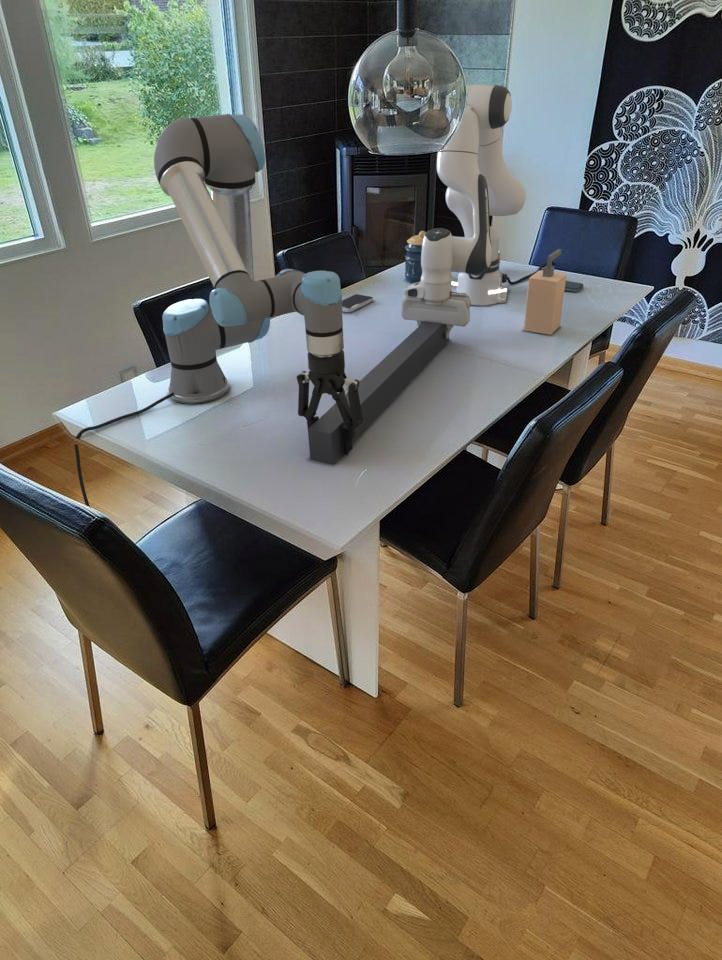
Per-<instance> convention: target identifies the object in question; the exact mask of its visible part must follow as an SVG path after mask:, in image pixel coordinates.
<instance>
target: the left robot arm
mask: <svg viewBox="0 0 722 960" xmlns="http://www.w3.org/2000/svg"><path fill="white" fill-rule="evenodd" d="M265 162H266V155H265V147H264V143H263V139H262V137H261V134H260V132H259V130H258V128H257V126H256V124H255V123H254V121H253V119H251V118H250V117H249V116H247V115H246V114H241V113H240V114H239V113H238V114H231V113H224V114H217V115H215V114H214V115H207V116H198V117H181V118H178V119H176V120H174V121H172V122H171V123H169V124H168V125H167V126H166V127H165V128H164V129H163V130H162V132H161V133H160V135H159V136H158V139H157V141H156V144H155V148H154V153H153V167H154V172H155V176H156V180H157V182H158V184H159V186H160V189H161V191H162V192H163V193H164V194H165V195H166V196H168V197H170V198H171V201H172V202H173V205H174V206H175V209H176V211H177V213H178V215H179V217H180V220H181V221H182V223H183V225H184V227H185V229H186V232H187V234H188V236H189V238H190V241H191V242H192V245H193V246H194V249H195V250H196V253H197V255H198V257H199V259H200V261H201V263H202V265H203V268H204V270H205V272H206V274H207V276H208V278H209V280H210V282H211V284H212V287H213V288H214V289H212V290H211V291H210V292H209V296H208V297H209V303H208V302H207V300H205V299H203V298H193V299H192V298H188V299H184V300H180V301H177V302H176V303H173V304H171V305H170V306H168V307H167V308H166V309H165V310H164V311H163V313H162V327H163V329H162V330H163V334H164V337H165V342H166V345H167V352H168V356H169V361H170V367H171V369H170V370H171V371H170V377H169V386H168V394H167V395H165V396H163V397H161V398H159V399H158V400H156V401H154V402H153V403H151V404H150V405H147V406H146V407H144V408H142V409H140V410H136V411H133V412H130V413H127V414H124V415H123V414H122V415H121V416H117V417H116V418H113V419H110V420H108V421H105V422H103V423H99V424H97V425H92V426H88V427H85V428H83V429H81V430H79V432H78V433H77V434H76V436H75V440H78V439H80V438H81V436H82V435H84V434H85V433H86V432H89V431H95V430H98V429H101V428H103V427H106V426H108V425H111V424H114V423H117V422H119V421H122V420H124V419H128V418H131V417H135V416H137V415H141V414H143V413H145V412H147V411H150V410H151V409H152V408H154V407H155V406H157V405H159V404H161V403H162V402H164V401H167V400H169V399H170V398H171V400H173V401H175V402H177V403H180V404H188V405H189V404H190V405H196V404H197V405H198V404H204V403H208V402H212V401H214V400H217V399H219V398H221V397H223V396H224V395H225V394H227V392H228V391H229V383H228V379H227V378H226V375H225V374H224V372H223V370H222V368H221V366H220V363H219V362H218V358H217V351H218V350H222V349H226V348H231V347H234V346H235V347H236V346H238V345H243V344H247V343H248V344H249V343H253V342H255V341H258V340H261V339H263V338H264V337H265V336H267V334H268V332H269V330H270V327H271V318H275V317H279V316H283V315H287V314H291V313H298V314H299V315H301V316H303V319H304V327H305V329H304V330H305V341H306V351H307V365H308V370H309V371H306V370H302V371H301V372H299V373H298V374H297V375H296V381H297V384H298V400H297V401H298V402H297V403H298V404H297V415H298V417H303V418H304V419H305V420H306V425H307V426H306V428H307V429H308V428H310V427H311V426H312V425H313V424H314V423H315V422H316V421H317V420H318V419H319V418H320V416H317V414H318V413H317V411H318V408H319V405H320V402H321V398H322V396H323V395H324V394H326V395H329V396H331V398H332V400H333V401H335V404H337V406H338V409H339V411H340V413H341V416H342V418H343V421H344V423H345V426H344V427H343V428H342V429H343V447H344V453H343V455H346V456H347V455H348V454H349V453H350V452H351V451H352V450H353V444H352V440H353V439H354V437H355V427H358V426H359V425H360V424H361V423H362V421H363V417H362V411H361V405H360V399H359V393H358V388H359V381H360V380H359V379H356V378H355V379H354V380H353V379H350V378H348V377H347V375H346V372H345V369H346V359H345V351H344V348H345V344H344V341H345V340H344V329H343V328H344V327H343V326H344V325H343V324H344V321H343V319H344V318H343V311H342V300H343V292H342V289H341V279H340V277H339V275H338V274H337V273H336V272H334V271H327V270H313V271H309V272H307V273H305V272H303V271H302V270H297V269H293V268H285V269H282V270H280V271H279V272H278V273H277V274H276V275H275V276H274V277H270V278H263V279H259V280H255V276H254V257H253V239H252V237H253V235H252V221H251V220H252V217H251V199H250V198H251V197H250V190H251V189H252V188H253V187H254V186H255V185H256V173H259V172H260V171H262V170H263V168H264V165H265ZM209 190H210V191H211V192H210V191H209ZM310 382H311V383H312V385H313V389H312V391H311V398H310ZM344 386H345V387H346V391H347V392H348V398H349V404H350V406H349V404H348V401H347V399H346V396H345V394H346V391H345V388H344ZM309 398H310V399H309ZM309 400H310V401H309ZM74 452H75V460H76V461H75V462H76V471H77V476H78V481H79V486H80V490H81V494H82V497H83V502H84V504H85V506H86V505H87V506H89V507H90V508H91V506H90V502H89V499H88V496H87V491H86V488H85V483H84V478H83V474H82V473H83V472H82V466H81V458H80V457H81V455H80V450H79V444H76V443H74Z"/></svg>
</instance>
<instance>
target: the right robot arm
mask: <svg viewBox="0 0 722 960" xmlns="http://www.w3.org/2000/svg"><path fill="white" fill-rule="evenodd" d="M465 86H466V88H467V101H466V107H465V111H464V114H463V118H462V121H461V124H460V126H459V128H458V130H457V132H456V133H455V135H454V137H453V138H452V139H451V141H450V142H449V143H448V145H447V146H446V147H445V148H444V149H442V150H440V151H438V150H437V153H436V173H437V176H438V178H439V179H440V181H441V182H442V183H443V184H444V185H445V186H446V187H447V188H446V191H445V203H446V205H447V208H448V209H449V210H450V211H451V212H452V213H453V214H454V215H455V217H457V219H458V221H459V222H460V224H461V227H462V230H463V233H464V235H463V236H455V235H452V232H451V231H450V230H449V229H447V228H443V227H442V228H441V227H437V228H436V227H435V228H433V229H430V230H427V231H425V232H426V233H425V235H424V238H423V243H422V251H421V267H422V276H421V282H417V283H411V284H410V285H408V286H407V287H406V288H405V289H404V291H403V295H404V297H403V299H402V301H401V308H400V309H401V311H400V315H401V317H402V319H403V320H407V321H414V322H416V325H417V328H418V327H419V326H420V325H421V324H422V323H423V322H424V321H425V322H433V323H441V324H446V325H447V328H449V329H448V330H447V331H445V332H444V333H443V338H444V339H448V338H449V339H450V333H451V331H452V329H454V326H455V327H456V326H457V327H463V328H464V327H466V326H467V325H468V324H469V323H470V322H471V309H470V308H471V306H490V305H494V304H504V303H506V301H507V296H508V291H509V288H508V286H504V285H503V284H506V283H508V285H516V284H519V283H521V282H523V281H525V280H527V279H529V278H530V277H531V276H532V275H534V274H535V273H536V272H538V271H542V270H543V268H544V267H545V266H547V262H544V263H543V264H541V265H540V266H539V267H538V269H537V270H536V271H534V272H532V273H530V274H527V275H525V276H522V277H521V278H520V279H517V280H514V281H512V280H511V278H510V277H509V276H508V274H507V273H502V272H501V271H500V265H499V260H500V261H501V255H498V250H499V247H500V235H499V233H498V231H497V230H496V229H495V228H494V227H492V225H490V222H491V221H490V216H491V217H492V216H493V217H508V216H514V215H517V214H519V212H521V211H522V209H523V207H524V206H525V203H526V197H527V196H526V190H525V187H524V185H523V184H522V182H520V180H518V179H516V178H515V177H514V175H512V174H511V172H510V171H509V170H508V168H507V166H506V163H505V161H504V157H503V147H502V127H505V125H506V124H507V123H508V121H509V119H510V116H511V113H512V109H513V108H512V107H513V102H512V100H513V99H512V95H511V92H510V90H509V89H508V88H507V87H506V86H503V85H500V84H495V85H490V84H480V83H479V84H476V83H473V84H469V85H465ZM552 266H556V263H555V262H554V260H552ZM452 273H458V276H457V282H456V281H453V276H452ZM453 286H456V291H453Z"/></svg>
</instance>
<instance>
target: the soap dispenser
mask: <svg viewBox="0 0 722 960" xmlns="http://www.w3.org/2000/svg"><path fill="white" fill-rule="evenodd" d="M562 250H563V249H561V248H557V249H556V250H555V251H553V252H552V253H550V254H549V255H547V259H546V263H547V265H546V266H545V267H543V268H542V270H540V271H538V272H536V271H535V272H536V273H535V274H534V275H532V276H531V277H530V278H528V283H527V284H528V285H527V293H526V303H525V314H524V315H525V316H524V325H523V331H525V332H532V333H538V334H543V335H547V336H551V335H552V334H553V333H555V331H556V330H557V329H559V328H560V327H561V319H562V312H563V305H564V297H565V291H566V290H565V282H566V281H567V273H562V272H555V265H552V261H554V260H555V259H557V258H558V257H559V256H561V255H562Z"/></svg>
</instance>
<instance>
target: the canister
mask: <svg viewBox="0 0 722 960" xmlns="http://www.w3.org/2000/svg"><path fill="white" fill-rule="evenodd" d="M426 232H427V231H425V230H420V231H419V233H418V234H416V235H412V236H411V237H410V238H408V239H407V240H406V242H407V244H406V245H405V246H404V249H405V251H406V252H405V255H404V259H405V260H404V262H405V264H404V265H405V266H404V267H405V268H404V270H405V271H404V277H405V281H406V282H409V283H411V284H413V283H417V282H421V276H422V267H421V251H422V243H423V238H424V235H425V233H426Z"/></svg>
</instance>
